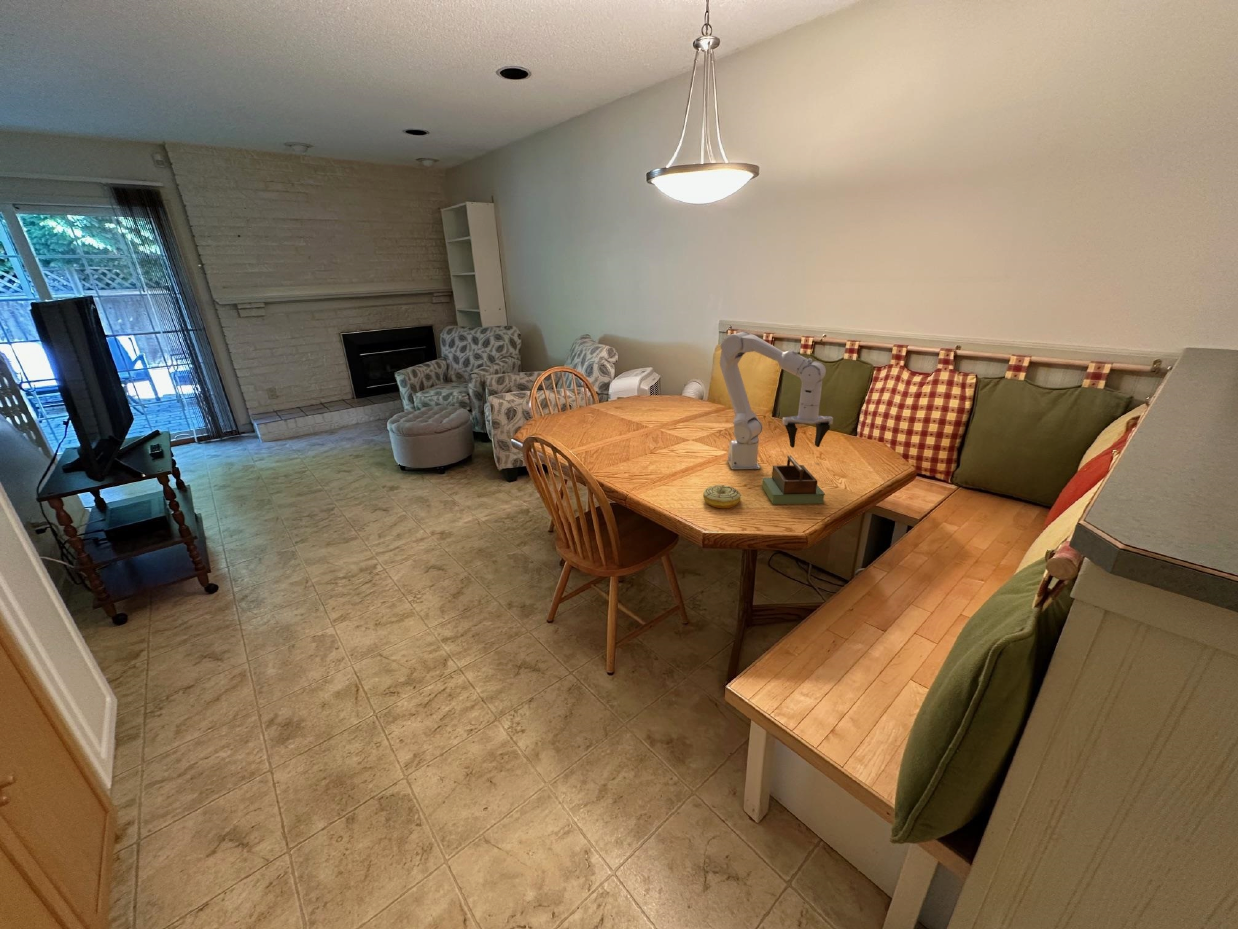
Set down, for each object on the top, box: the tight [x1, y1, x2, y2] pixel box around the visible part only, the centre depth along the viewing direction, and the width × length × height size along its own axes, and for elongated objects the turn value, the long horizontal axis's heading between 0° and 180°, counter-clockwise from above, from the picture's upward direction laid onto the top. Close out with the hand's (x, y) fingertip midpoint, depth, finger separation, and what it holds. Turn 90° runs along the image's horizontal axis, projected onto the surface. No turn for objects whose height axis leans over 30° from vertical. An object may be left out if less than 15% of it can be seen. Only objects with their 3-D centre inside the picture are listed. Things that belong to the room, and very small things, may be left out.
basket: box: [771, 454, 818, 494], centre depth 138 cm, size 9×12×7 cm
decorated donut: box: [702, 484, 742, 509], centre depth 136 cm, size 10×11×4 cm
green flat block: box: [761, 476, 826, 505], centre depth 140 cm, size 14×12×3 cm
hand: (804, 446), depth 148 cm, fingers open, 7 cm apart
